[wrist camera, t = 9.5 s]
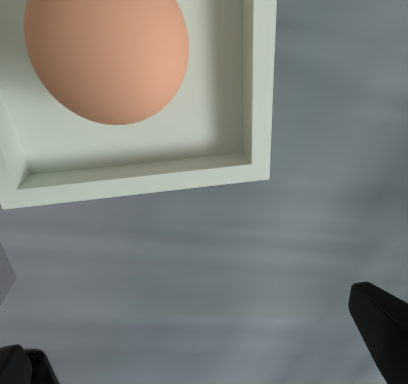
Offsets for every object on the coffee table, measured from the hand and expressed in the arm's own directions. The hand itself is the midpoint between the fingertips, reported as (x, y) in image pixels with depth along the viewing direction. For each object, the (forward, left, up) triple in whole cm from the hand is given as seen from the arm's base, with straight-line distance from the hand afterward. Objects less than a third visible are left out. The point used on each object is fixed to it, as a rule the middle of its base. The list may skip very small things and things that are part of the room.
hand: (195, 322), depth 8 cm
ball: (+7, +2, -8) cm, 10 cm away
